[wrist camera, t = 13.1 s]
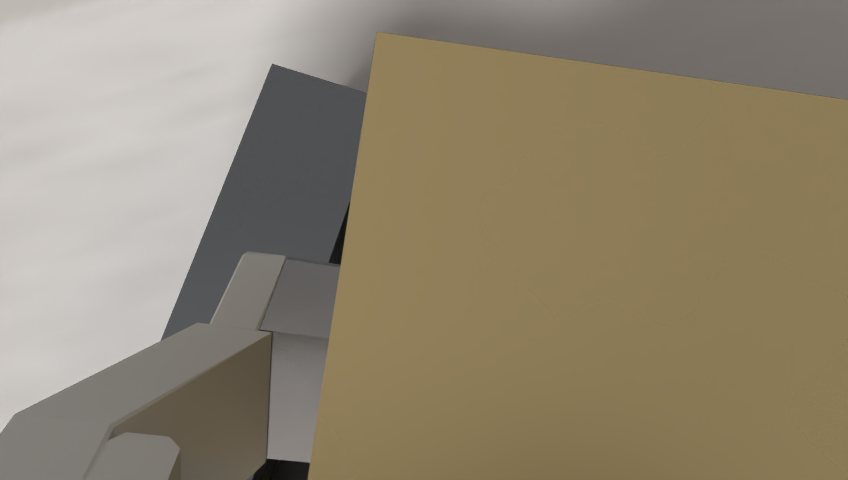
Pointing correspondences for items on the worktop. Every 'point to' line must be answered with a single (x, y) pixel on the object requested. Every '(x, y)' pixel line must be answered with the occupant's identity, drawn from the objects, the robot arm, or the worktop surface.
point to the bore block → (279, 198)
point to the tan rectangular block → (587, 276)
